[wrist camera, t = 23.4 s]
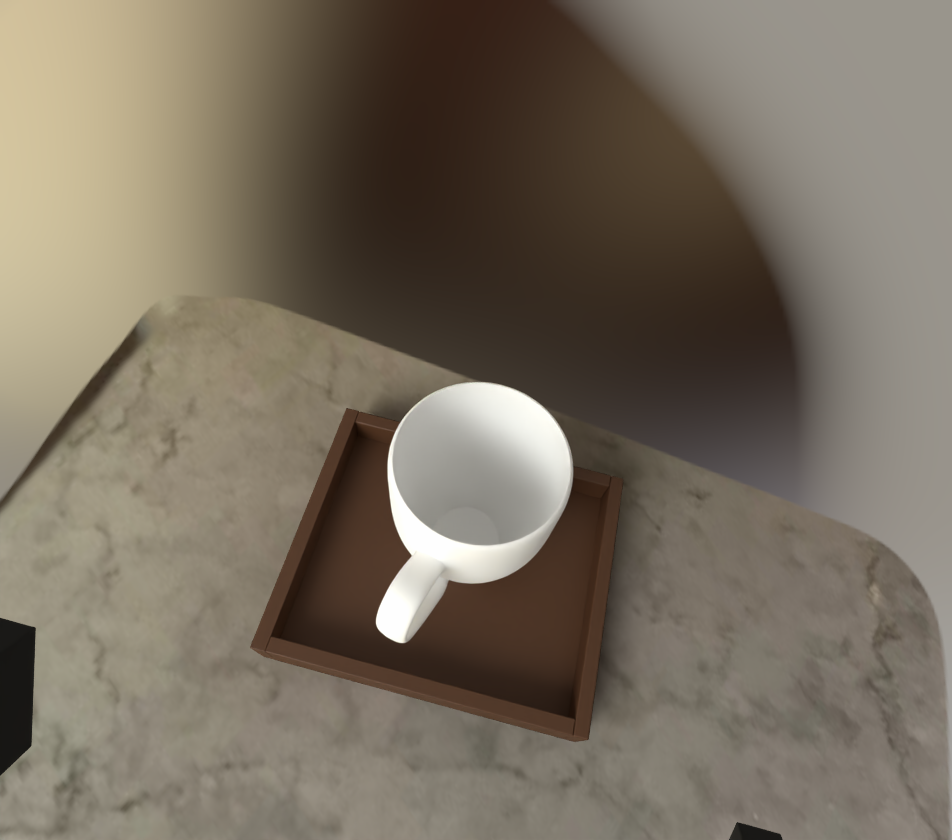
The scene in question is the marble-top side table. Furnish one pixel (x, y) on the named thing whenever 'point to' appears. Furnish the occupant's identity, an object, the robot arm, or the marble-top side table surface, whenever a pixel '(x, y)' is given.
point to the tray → (445, 600)
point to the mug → (470, 493)
